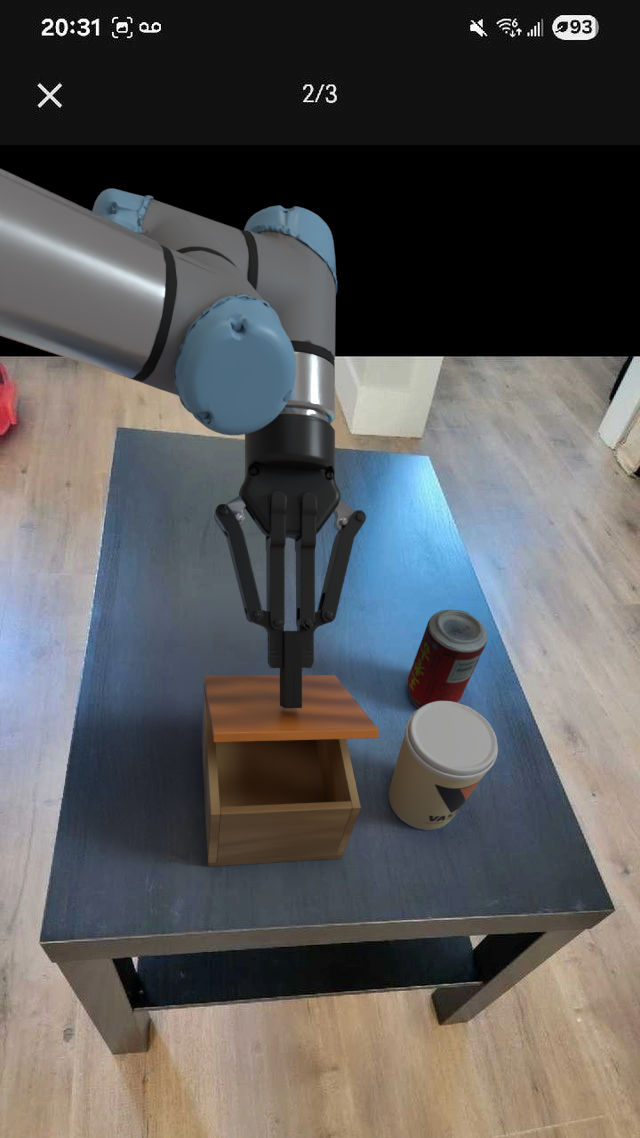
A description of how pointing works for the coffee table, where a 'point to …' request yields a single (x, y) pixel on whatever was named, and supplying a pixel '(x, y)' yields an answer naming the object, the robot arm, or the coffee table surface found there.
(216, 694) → the lid
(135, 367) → the robot arm
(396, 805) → the coffee cup
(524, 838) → the coffee table surface
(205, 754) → the chest
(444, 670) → the soda can
